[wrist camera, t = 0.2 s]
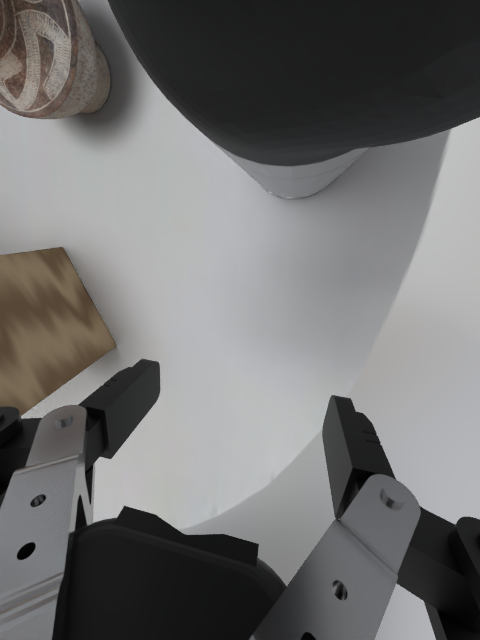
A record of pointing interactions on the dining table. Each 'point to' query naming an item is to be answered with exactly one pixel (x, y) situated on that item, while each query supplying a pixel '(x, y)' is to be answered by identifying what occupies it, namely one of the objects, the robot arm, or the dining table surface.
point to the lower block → (44, 326)
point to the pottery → (50, 60)
